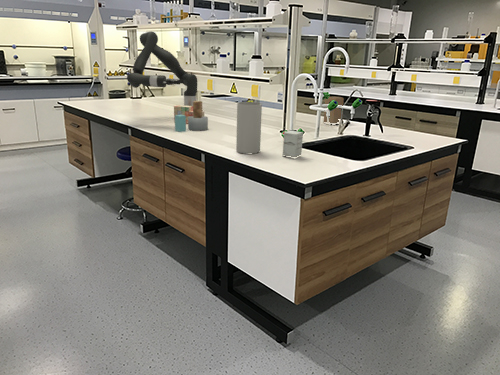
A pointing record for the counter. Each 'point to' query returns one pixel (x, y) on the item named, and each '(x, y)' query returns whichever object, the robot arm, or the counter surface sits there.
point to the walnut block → (197, 109)
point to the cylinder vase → (248, 127)
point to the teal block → (180, 123)
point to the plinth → (198, 123)
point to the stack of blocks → (184, 111)
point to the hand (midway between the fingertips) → (182, 82)
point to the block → (336, 112)
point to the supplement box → (292, 143)
